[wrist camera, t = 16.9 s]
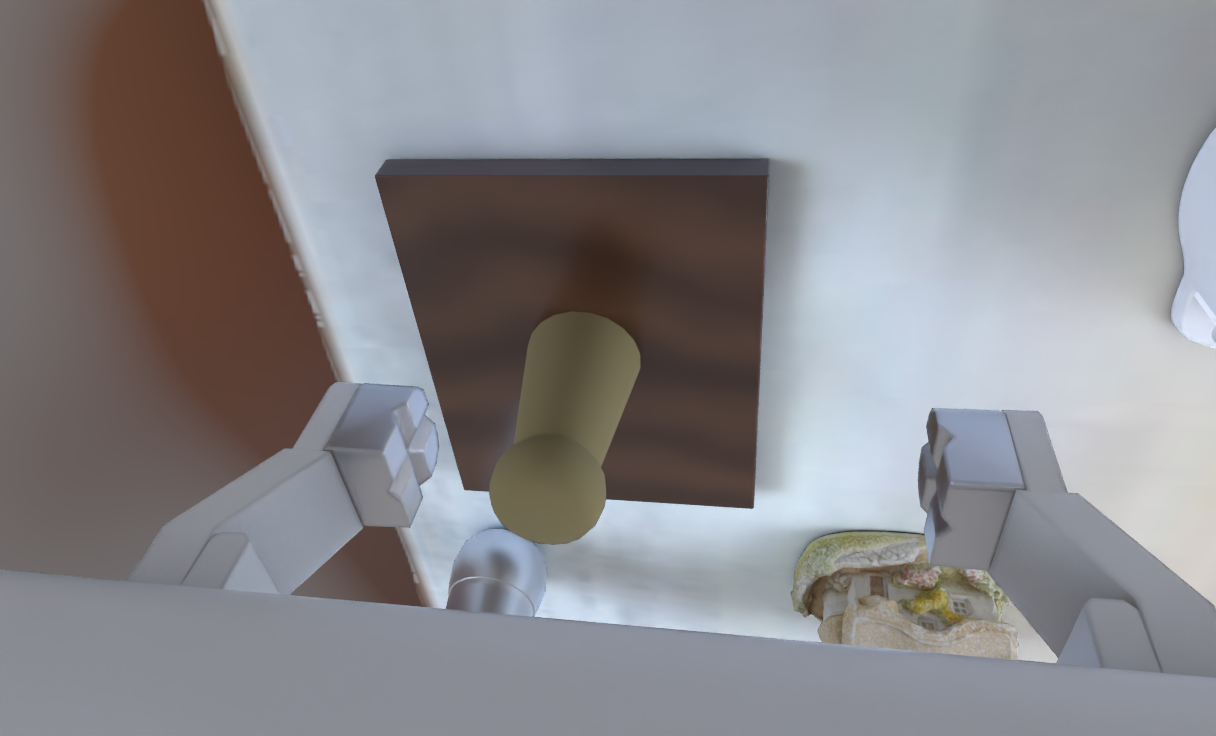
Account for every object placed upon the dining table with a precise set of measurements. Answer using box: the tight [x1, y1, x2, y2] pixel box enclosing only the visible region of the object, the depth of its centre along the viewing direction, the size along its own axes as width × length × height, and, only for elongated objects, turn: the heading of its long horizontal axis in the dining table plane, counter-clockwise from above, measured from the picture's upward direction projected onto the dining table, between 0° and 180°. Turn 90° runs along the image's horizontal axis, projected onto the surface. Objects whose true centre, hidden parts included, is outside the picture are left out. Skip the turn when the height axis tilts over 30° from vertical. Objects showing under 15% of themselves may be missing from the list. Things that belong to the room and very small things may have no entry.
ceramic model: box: [791, 531, 1019, 660], centre depth 52 cm, size 14×11×10 cm
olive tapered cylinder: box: [489, 311, 640, 545], centre depth 41 cm, size 6×6×11 cm
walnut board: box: [375, 159, 769, 509], centre depth 46 cm, size 22×18×2 cm
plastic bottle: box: [446, 529, 547, 617], centre depth 53 cm, size 6×7×20 cm
